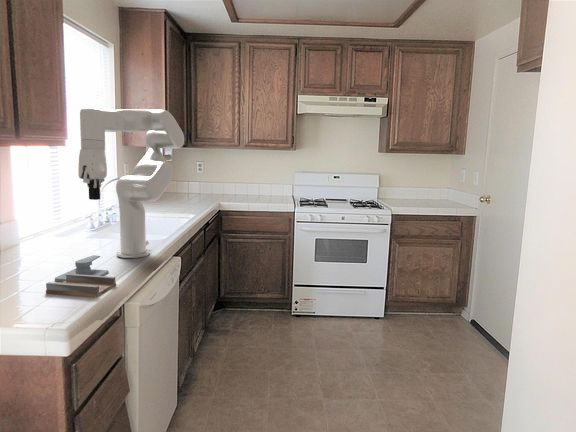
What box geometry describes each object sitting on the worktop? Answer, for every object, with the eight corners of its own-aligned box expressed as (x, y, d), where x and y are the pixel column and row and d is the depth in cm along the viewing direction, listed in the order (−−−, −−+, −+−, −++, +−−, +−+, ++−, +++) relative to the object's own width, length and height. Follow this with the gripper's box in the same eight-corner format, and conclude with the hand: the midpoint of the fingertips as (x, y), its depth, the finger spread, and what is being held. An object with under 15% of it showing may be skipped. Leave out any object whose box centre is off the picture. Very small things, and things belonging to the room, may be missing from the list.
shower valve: (113, 255, 151) (88, 267, 137) (113, 270, 152) (89, 283, 138) (80, 253, 153) (52, 264, 138) (80, 268, 154) (53, 281, 139)
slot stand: (69, 282, 138) (68, 273, 138) (116, 285, 136) (115, 276, 136) (45, 293, 127) (45, 283, 127) (96, 297, 126) (96, 287, 125)
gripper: (95, 145, 154) (96, 196, 156) (68, 144, 139) (70, 201, 142) (115, 146, 153) (116, 197, 155) (90, 145, 138) (92, 202, 141)
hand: (94, 199), depth 149 cm, fingers closed
